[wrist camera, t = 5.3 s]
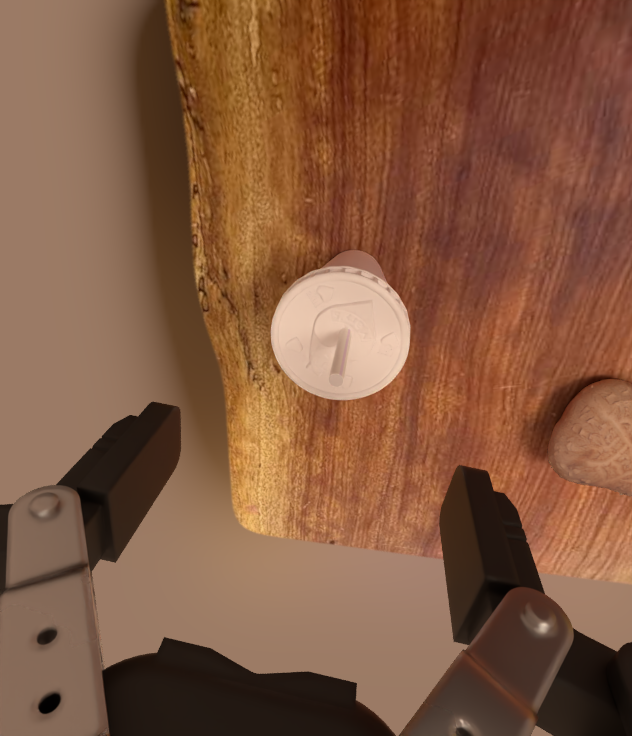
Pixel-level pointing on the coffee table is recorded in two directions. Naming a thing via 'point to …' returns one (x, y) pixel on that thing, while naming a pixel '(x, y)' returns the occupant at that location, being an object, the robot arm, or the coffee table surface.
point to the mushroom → (596, 437)
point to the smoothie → (341, 329)
